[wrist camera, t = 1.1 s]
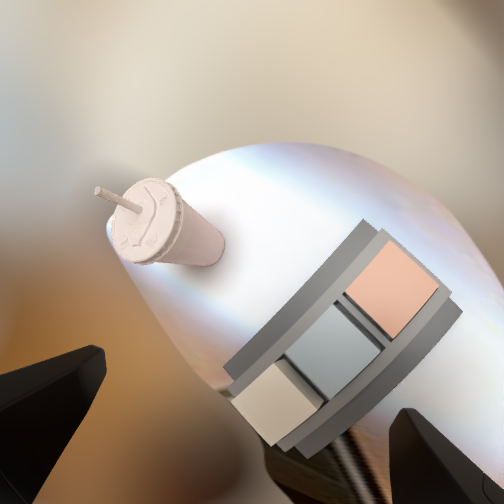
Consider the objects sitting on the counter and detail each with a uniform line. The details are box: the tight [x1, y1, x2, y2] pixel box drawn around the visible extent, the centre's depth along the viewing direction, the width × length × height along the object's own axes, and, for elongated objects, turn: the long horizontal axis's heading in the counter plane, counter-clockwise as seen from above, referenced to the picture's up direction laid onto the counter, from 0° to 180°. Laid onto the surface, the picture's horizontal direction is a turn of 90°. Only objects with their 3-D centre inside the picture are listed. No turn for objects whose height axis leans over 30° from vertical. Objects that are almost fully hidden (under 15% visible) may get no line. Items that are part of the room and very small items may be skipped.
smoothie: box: [95, 178, 225, 266], centre depth 24 cm, size 6×6×14 cm
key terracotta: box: [345, 240, 439, 338], centre depth 19 cm, size 4×4×2 cm
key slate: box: [285, 304, 381, 399], centre depth 20 cm, size 4×4×2 cm
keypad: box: [223, 219, 463, 459], centre depth 22 cm, size 11×17×3 cm, turn 132°
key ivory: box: [231, 359, 324, 446], centre depth 20 cm, size 4×4×2 cm
